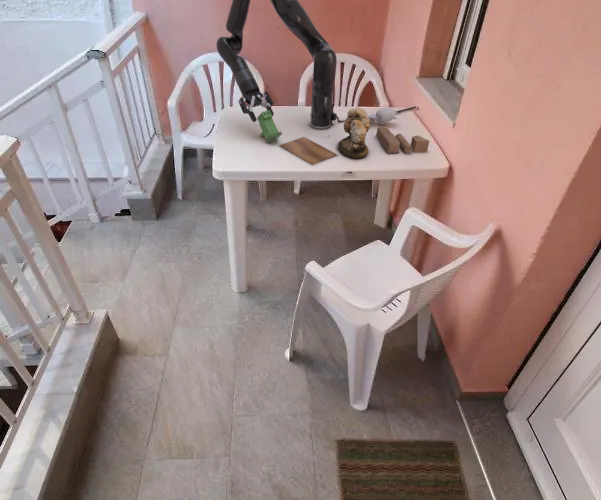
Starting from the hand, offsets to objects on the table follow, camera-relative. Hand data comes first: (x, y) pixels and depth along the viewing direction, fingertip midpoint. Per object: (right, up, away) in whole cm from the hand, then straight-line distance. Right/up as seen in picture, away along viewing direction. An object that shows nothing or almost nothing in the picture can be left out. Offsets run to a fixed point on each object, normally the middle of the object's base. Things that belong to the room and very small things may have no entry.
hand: (263, 118), depth 171 cm
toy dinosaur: (+2, -8, +3) cm, 9 cm away
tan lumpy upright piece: (+36, -13, -1) cm, 39 cm away
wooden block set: (+58, -10, +4) cm, 58 cm away
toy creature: (+51, +4, +20) cm, 55 cm away
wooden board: (+18, -14, -4) cm, 23 cm away
